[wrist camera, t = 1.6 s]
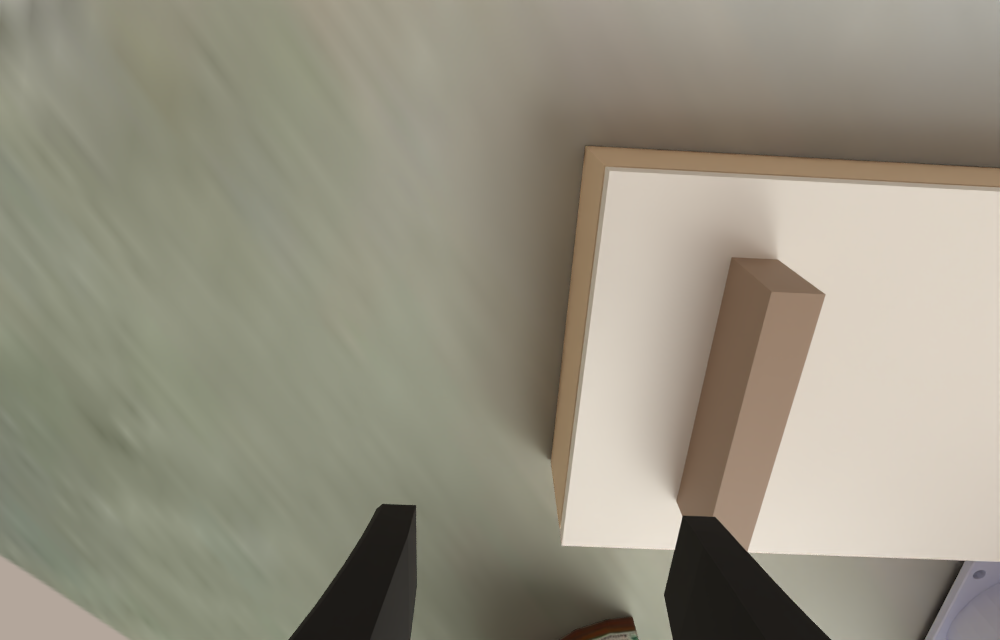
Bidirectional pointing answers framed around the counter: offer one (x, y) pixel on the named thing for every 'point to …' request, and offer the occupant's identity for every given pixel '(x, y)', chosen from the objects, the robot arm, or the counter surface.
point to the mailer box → (701, 162)
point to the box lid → (791, 366)
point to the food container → (606, 630)
